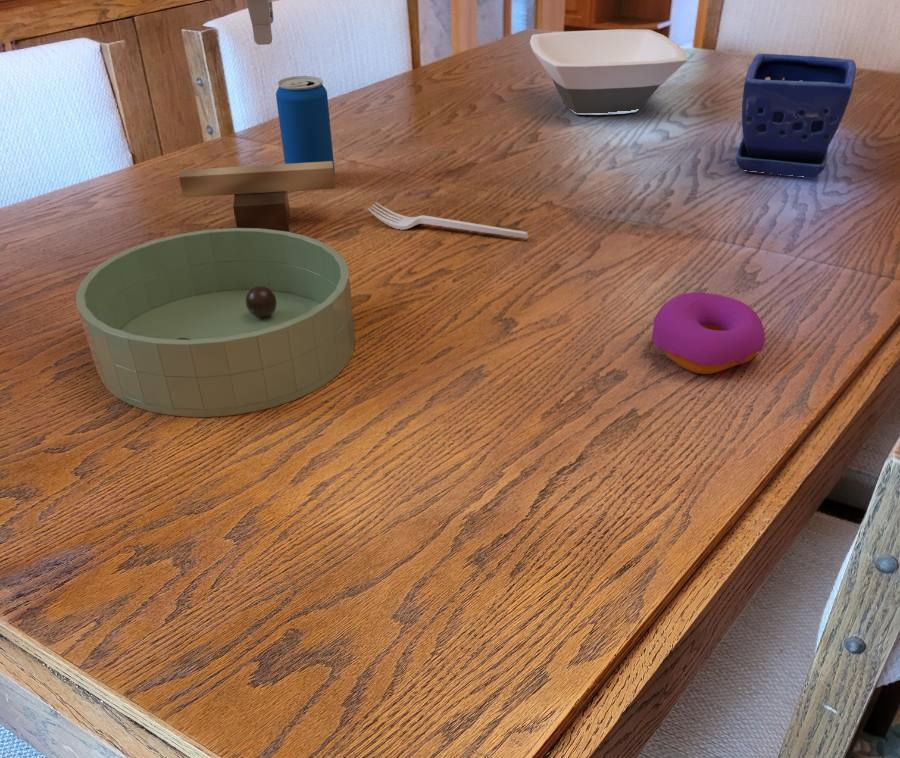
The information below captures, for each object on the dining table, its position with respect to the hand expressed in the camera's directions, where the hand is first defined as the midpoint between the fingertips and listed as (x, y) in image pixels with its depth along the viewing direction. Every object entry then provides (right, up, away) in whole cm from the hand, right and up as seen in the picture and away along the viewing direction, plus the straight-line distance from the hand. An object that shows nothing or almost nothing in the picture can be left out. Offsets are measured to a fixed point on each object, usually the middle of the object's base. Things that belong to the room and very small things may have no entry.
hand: (265, 32), depth 95 cm
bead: (+1, -30, -5) cm, 31 cm away
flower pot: (+65, -1, +28) cm, 71 cm away
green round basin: (-2, -36, -8) cm, 37 cm away
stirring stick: (-3, -11, +13) cm, 17 cm away
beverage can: (+1, -4, +26) cm, 27 cm away
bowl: (+44, +19, +50) cm, 69 cm away
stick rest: (-3, -14, +16) cm, 21 cm away
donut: (+44, -37, -9) cm, 58 cm away
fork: (+19, -16, +13) cm, 28 cm away
